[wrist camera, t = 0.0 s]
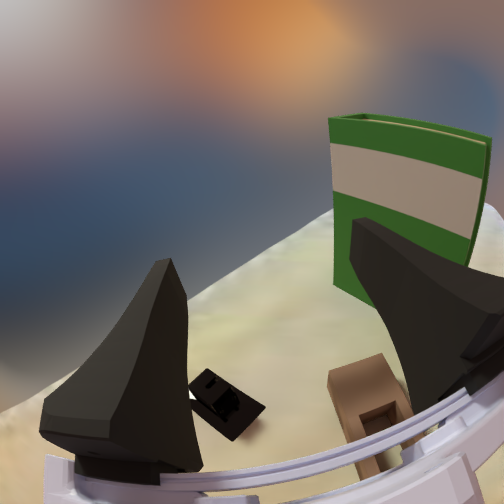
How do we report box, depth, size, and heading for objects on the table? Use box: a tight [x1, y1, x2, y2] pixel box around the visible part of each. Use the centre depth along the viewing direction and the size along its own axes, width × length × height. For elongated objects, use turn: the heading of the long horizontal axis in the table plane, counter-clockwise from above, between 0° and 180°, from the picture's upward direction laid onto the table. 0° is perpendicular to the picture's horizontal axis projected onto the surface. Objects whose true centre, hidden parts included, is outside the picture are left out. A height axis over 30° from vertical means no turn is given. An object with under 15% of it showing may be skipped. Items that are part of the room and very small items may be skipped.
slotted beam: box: [327, 353, 425, 481], centre depth 18 cm, size 18×6×4 cm, turn 8°
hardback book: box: [328, 113, 492, 309], centre depth 29 cm, size 18×7×24 cm, turn 37°
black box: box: [188, 369, 266, 441], centre depth 26 cm, size 12×7×5 cm, turn 50°
